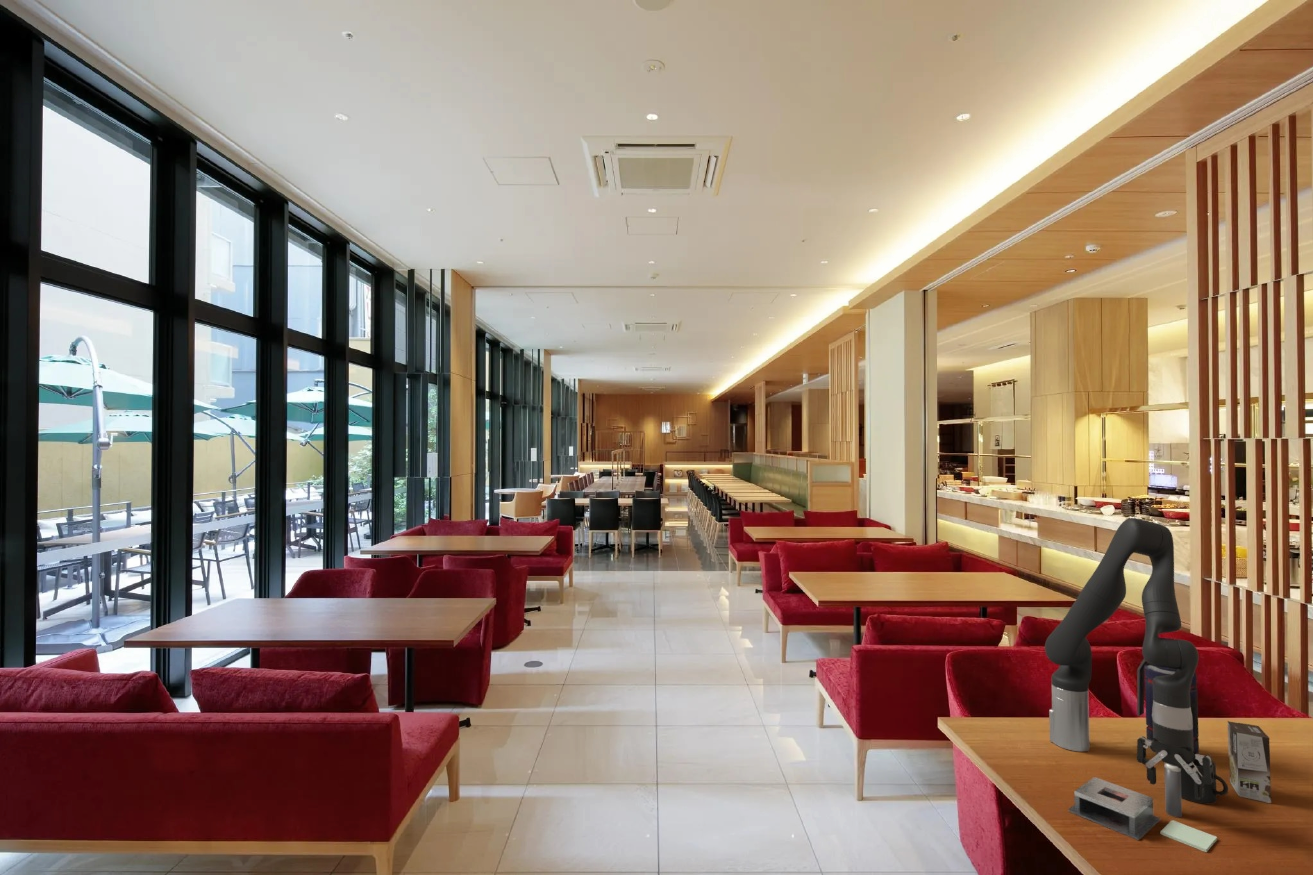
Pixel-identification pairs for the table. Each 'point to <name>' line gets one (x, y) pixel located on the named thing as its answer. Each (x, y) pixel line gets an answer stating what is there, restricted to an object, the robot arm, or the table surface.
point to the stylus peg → (1173, 790)
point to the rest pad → (1189, 836)
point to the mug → (1209, 790)
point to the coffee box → (1249, 761)
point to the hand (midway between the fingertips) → (1174, 790)
